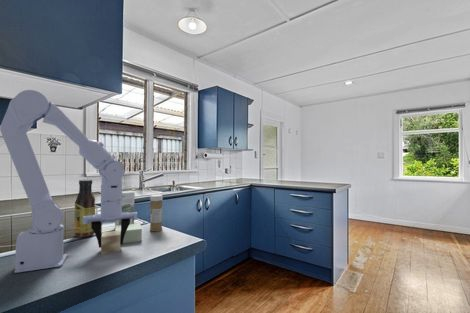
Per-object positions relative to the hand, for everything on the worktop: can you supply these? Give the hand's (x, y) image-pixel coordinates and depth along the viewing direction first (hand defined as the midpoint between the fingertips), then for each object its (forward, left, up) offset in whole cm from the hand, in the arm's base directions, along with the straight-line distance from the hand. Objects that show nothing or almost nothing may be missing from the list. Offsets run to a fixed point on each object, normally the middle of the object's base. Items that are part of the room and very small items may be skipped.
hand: (111, 245), depth 75 cm
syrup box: (+4, +24, -2) cm, 24 cm away
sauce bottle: (-9, +19, -2) cm, 21 cm away
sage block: (+5, +9, -1) cm, 10 cm away
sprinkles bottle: (+15, +16, -2) cm, 22 cm away
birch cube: (0, 0, -2) cm, 2 cm away
